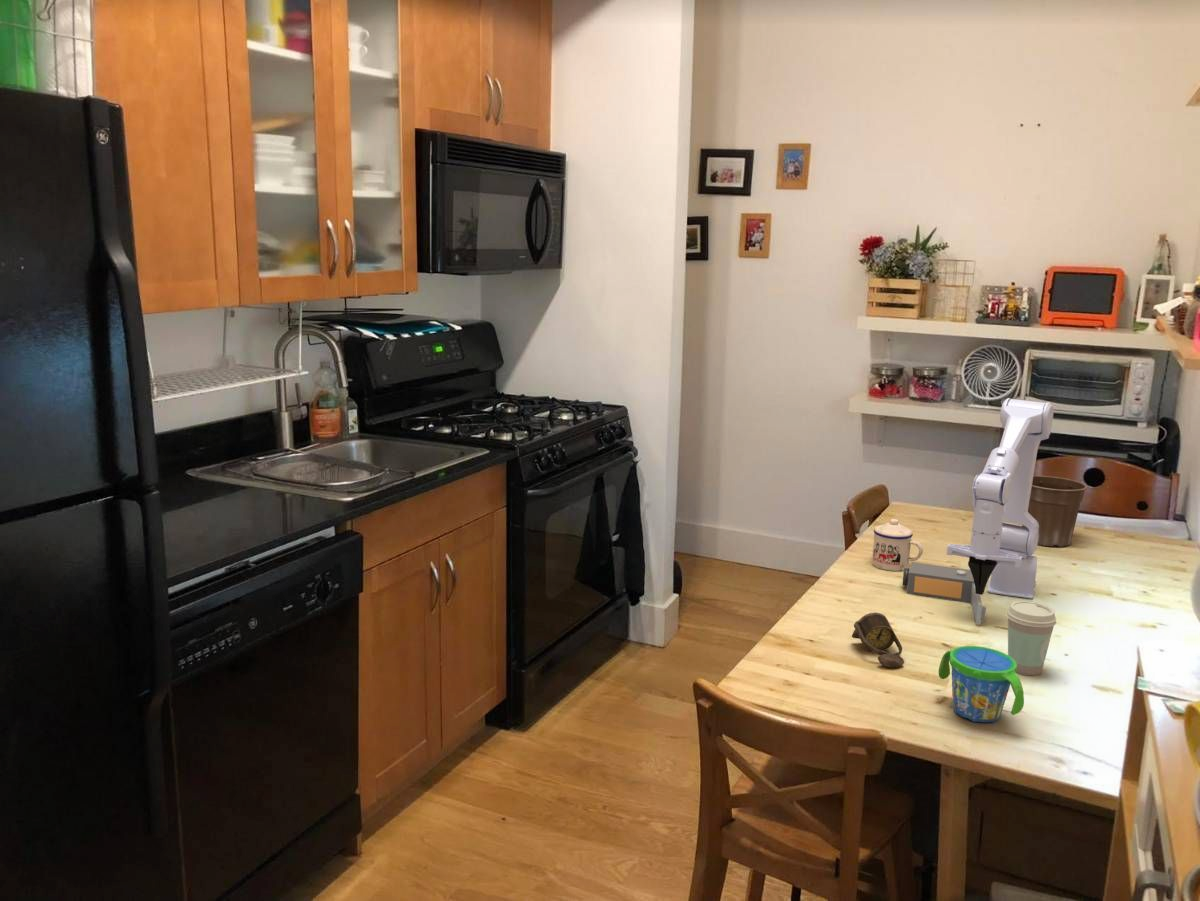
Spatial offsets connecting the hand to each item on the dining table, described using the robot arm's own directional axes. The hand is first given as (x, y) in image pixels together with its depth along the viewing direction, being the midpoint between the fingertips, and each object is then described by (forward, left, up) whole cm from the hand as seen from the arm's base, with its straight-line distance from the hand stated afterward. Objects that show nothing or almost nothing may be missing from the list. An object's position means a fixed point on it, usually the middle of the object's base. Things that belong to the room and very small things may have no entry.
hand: (979, 592), depth 208 cm
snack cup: (-1, +45, -6) cm, 46 cm away
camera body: (+8, -14, -6) cm, 17 cm away
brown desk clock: (+18, +28, -6) cm, 33 cm away
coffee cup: (-9, +22, -6) cm, 25 cm away
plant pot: (-16, -68, -6) cm, 70 cm away
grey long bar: (0, -3, -6) cm, 6 cm away
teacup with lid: (+19, -28, -6) cm, 34 cm away
